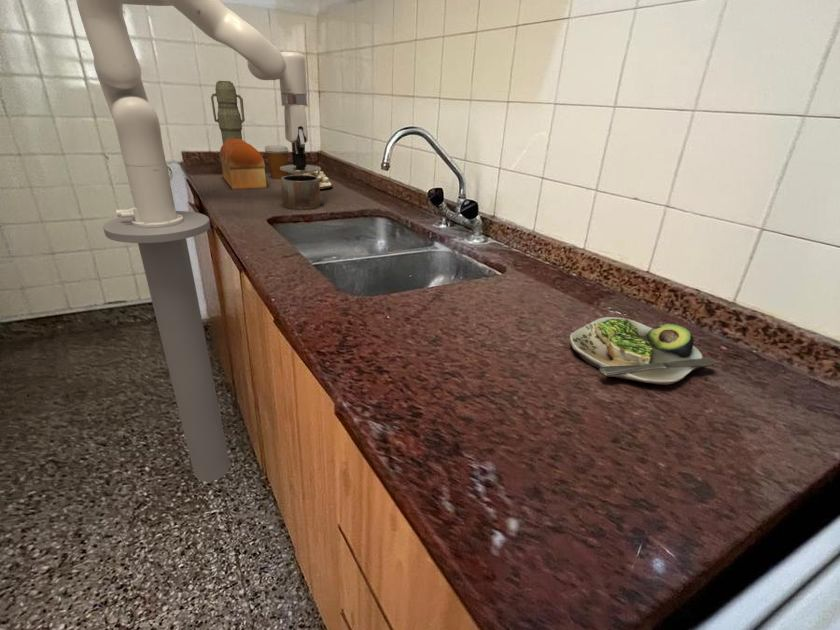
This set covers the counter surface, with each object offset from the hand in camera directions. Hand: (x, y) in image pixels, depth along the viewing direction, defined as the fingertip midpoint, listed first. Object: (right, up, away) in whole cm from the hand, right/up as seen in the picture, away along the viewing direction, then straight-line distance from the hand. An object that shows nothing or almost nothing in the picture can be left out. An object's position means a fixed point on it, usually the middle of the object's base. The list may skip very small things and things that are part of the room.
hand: (299, 165), depth 140 cm
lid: (0, -1, +1) cm, 1 cm away
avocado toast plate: (+70, -53, -72) cm, 113 cm away
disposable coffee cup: (-22, +11, +49) cm, 55 cm away
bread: (-31, +5, +35) cm, 47 cm away
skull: (-2, +2, +32) cm, 32 cm away
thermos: (-41, +15, +54) cm, 69 cm away
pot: (-1, -11, +5) cm, 12 cm away
